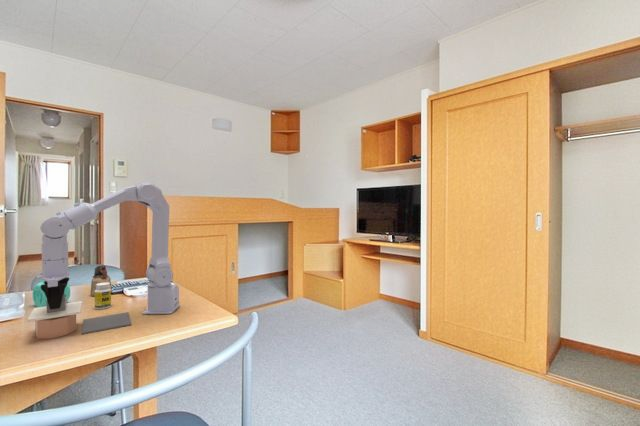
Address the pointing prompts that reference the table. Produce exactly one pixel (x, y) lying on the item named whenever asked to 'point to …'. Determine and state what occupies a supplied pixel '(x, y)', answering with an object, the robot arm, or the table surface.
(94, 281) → the figurine
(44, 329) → the bowl
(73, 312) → the lid
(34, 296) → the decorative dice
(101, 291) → the supplement bottle
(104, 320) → the mat
